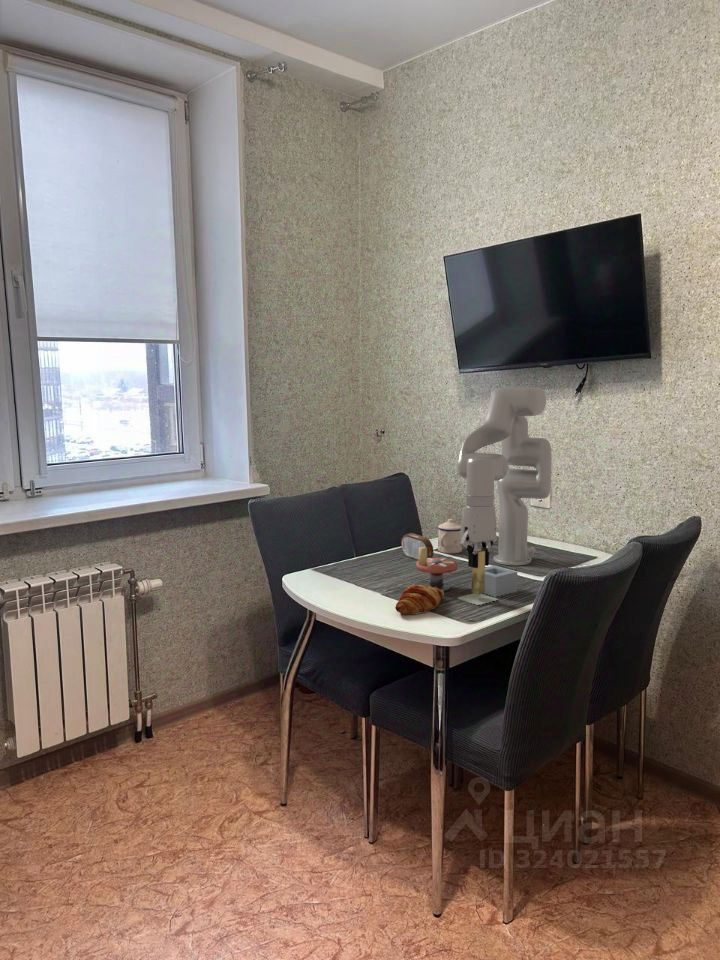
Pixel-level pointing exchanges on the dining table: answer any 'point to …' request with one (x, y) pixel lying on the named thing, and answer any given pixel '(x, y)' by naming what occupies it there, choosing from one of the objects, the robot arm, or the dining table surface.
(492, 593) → the eye block
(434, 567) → the handwheel
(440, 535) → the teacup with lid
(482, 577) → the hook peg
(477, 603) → the sage mat
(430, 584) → the wheel post
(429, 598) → the croissant
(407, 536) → the tin
